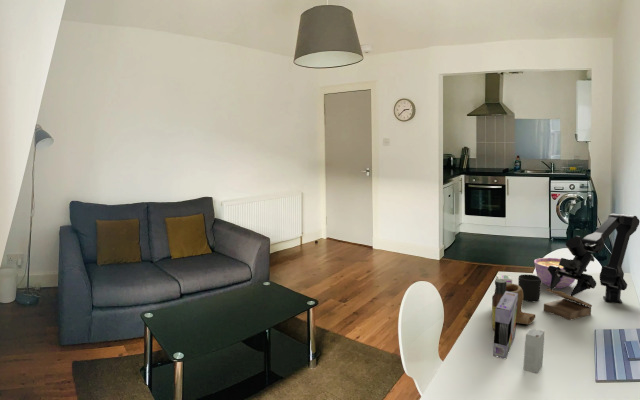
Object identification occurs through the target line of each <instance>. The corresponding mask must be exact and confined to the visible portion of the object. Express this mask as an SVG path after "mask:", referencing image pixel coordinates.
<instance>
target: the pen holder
mask: <svg viewBox="0 0 640 400" xmlns="http://www.w3.org/2000/svg"><path fill="white" fill-rule="evenodd" d="M517 285H519V286H520V287H521V288H522V290H523V302H524V301H525V302H531V303H533V302H539V301H540V298H541V297H540V296H541V288H542V287H541V286H542V282H541V279H540V278H539V277H538V276H537V275H534V274H520V275H518V284H517Z"/></svg>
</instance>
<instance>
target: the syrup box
mask: <svg viewBox="0 0 640 400" xmlns="http://www.w3.org/2000/svg"><path fill="white" fill-rule="evenodd" d="M498 279H501V280H505V281H506V283H507V284H513V279H512V277H511V276H510V275H506V274H498V275H496V276H495V280H498Z"/></svg>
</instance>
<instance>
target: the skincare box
mask: <svg viewBox="0 0 640 400" xmlns="http://www.w3.org/2000/svg"><path fill="white" fill-rule="evenodd" d="M544 345H545V331H544V330H541V329H536V328H529V330H528V331H527V332H526V334H525V341H524V353H523V355H524V356H523V371H526V372H528V373H529V372H530V373H533V374H538V373H539V371H540V370H541V368H543V361H544V360H543V358H544V348H545V347H544Z"/></svg>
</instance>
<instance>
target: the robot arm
mask: <svg viewBox="0 0 640 400" xmlns="http://www.w3.org/2000/svg"><path fill="white" fill-rule="evenodd" d="M639 225H640V219H639V217H638V216H637V215H630V214H623V213H620V214H617V213H610V214H608V216H607V218H606V220H604V222H603V223H602V224H601V225H600V226H599V227H598V228H597V229H596V230H595V231H594V232H593V233H590V234H587V235H585V236H584V237H583V238H582V237H581V236H580V235H575V236H574V237H571V238H569V239H567V240H566V242H565V246H566V248H567V249H568V251H569V252H570V254H571V255H573V256H574V257H573V259H568V258H564V257H560V259H561V260H560V263H559V265H561V266H563V269H564V270H565V272H564V271H562V270H561V269H560V268H559V267H557V266H554V265H550V266H549V267H548V269H547V270H548V271H549V272H550V274H551V276H552V278H551V285H550V287H549V289H551V290H554V289H555V288H554V287H555V286H556V285H557V284H558V283H559V282H560V281H561V279H560V278H562V277H563V276H565V277H569V278H572V279H575V280H577V281H576V283H575V286H574V287H573V289H572V290H571V292H570V294H569V295H570V296H573V297H575V296H576V295H577V294H579V293H582V292H583V291H586V290H591V289H595V288H596V287H597V281H596V280H595V279H594V277H593V276H592V274H587V273H586V272H587V267H588V265H589V264H590V263H591V262H592V263H593V262H595V257H594V254H600V252H602V250H603V248H604V247H605V241H606V239H608V238H609V236H610V235H612V233H613V232H614V231H616V235H615V238H614V242H613V246H612V250H611V254H610V256H609V261H608V263H607V264H606V265H605V266H604V265H602V267H601V271H600V273H599V282H600V286H603V287H605V293H604V295H603V296H602V298H603V300H604V302H606V303H614V304H623V301H622V299H621V295H622V291H625V290H626V289H627V287H628V283H627V282H626V280H625V278H624V275H625V273H624V271H623V268H622V267H623V262H624V260H625V259H624V258H625V256H626V251H627V248H628V244H629V240H630V237H631V236H632V235H633V234H634V233H635V232H636V231H637V229H638V227H639ZM592 253H594V254H592ZM584 272H585V273H584Z"/></svg>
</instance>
